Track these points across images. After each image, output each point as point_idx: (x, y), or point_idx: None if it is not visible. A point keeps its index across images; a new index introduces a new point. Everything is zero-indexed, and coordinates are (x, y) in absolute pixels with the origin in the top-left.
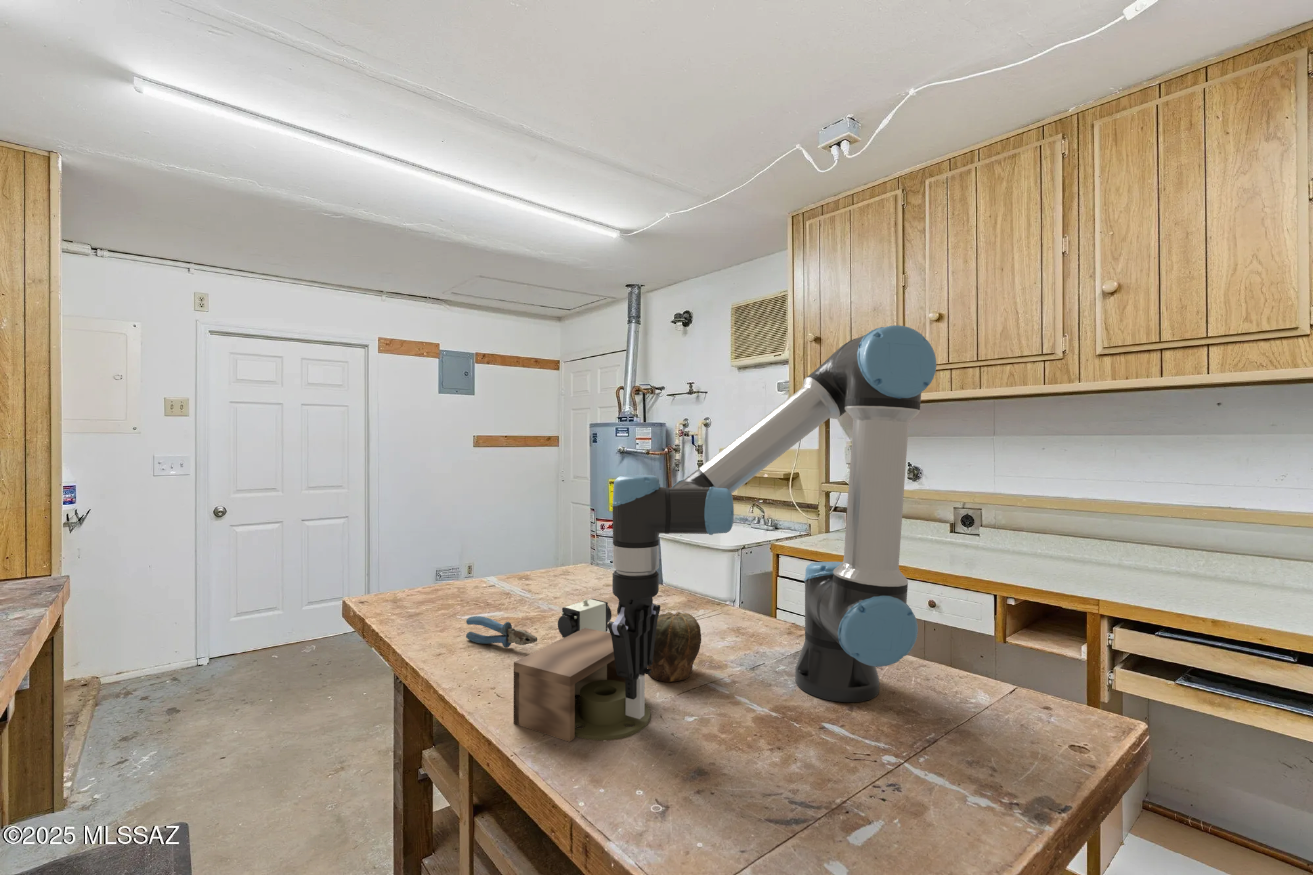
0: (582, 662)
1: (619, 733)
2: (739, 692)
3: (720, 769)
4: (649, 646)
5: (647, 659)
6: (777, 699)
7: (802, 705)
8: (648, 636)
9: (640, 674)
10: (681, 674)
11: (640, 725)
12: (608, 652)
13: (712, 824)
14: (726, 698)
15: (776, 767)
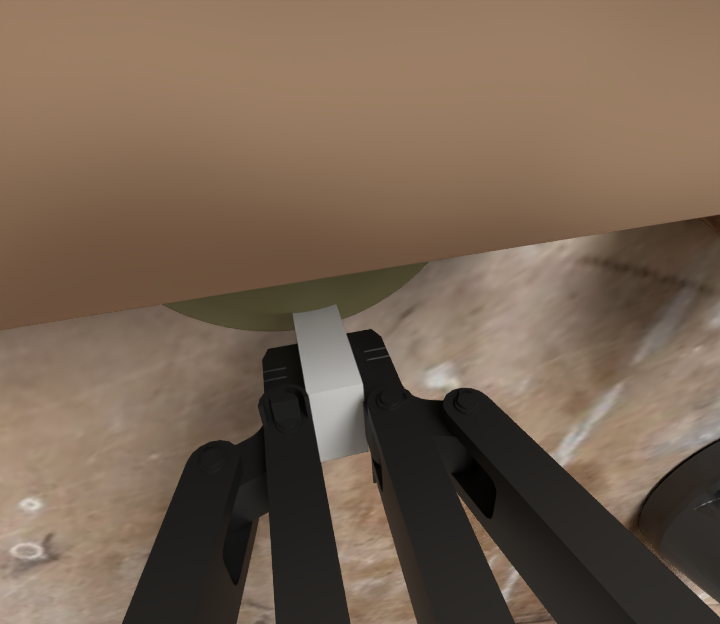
0: (12, 215)
1: (190, 311)
2: (643, 380)
3: (262, 536)
4: (507, 550)
5: (452, 478)
6: (624, 452)
7: (607, 491)
8: (562, 607)
9: (366, 433)
10: (709, 225)
11: (290, 327)
12: (420, 236)
13: (94, 611)
14: (597, 377)
15: (342, 573)
